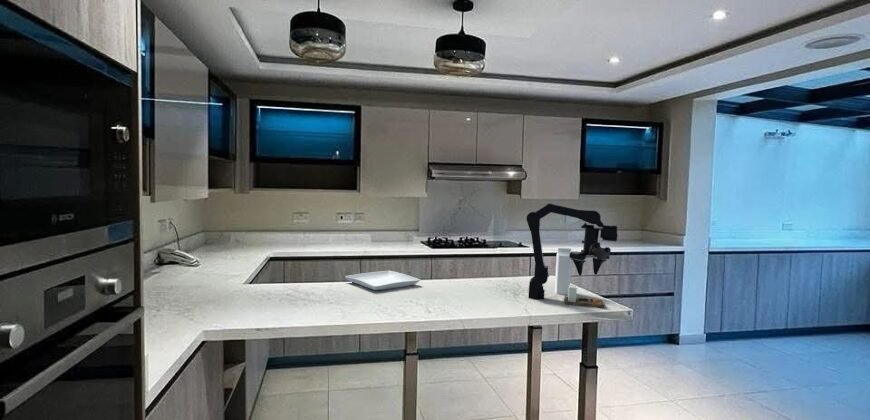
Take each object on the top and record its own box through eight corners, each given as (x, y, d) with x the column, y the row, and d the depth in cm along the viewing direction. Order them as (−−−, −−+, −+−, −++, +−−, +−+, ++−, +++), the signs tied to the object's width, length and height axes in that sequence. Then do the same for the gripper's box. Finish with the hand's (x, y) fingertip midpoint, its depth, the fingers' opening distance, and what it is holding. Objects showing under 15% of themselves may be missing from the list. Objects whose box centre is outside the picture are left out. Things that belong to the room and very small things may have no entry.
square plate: (389, 276, 254) (389, 269, 253) (421, 286, 233) (421, 279, 233) (344, 282, 236) (344, 274, 236) (374, 293, 215) (374, 285, 215)
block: (568, 303, 207) (569, 287, 206) (567, 300, 212) (568, 284, 212) (575, 304, 206) (576, 288, 205) (574, 300, 212) (575, 285, 211)
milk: (554, 292, 230) (556, 247, 228) (567, 293, 229) (569, 247, 228) (556, 295, 224) (558, 248, 222) (569, 296, 223) (572, 249, 222)
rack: (564, 306, 205) (565, 297, 204) (563, 300, 215) (564, 291, 215) (604, 310, 201) (605, 300, 201) (601, 303, 212) (602, 294, 211)
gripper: (589, 242, 195) (586, 280, 196) (621, 242, 204) (617, 278, 205) (570, 238, 205) (566, 274, 206) (600, 238, 214) (597, 272, 215)
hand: (587, 274), depth 208 cm, fingers open, 9 cm apart
